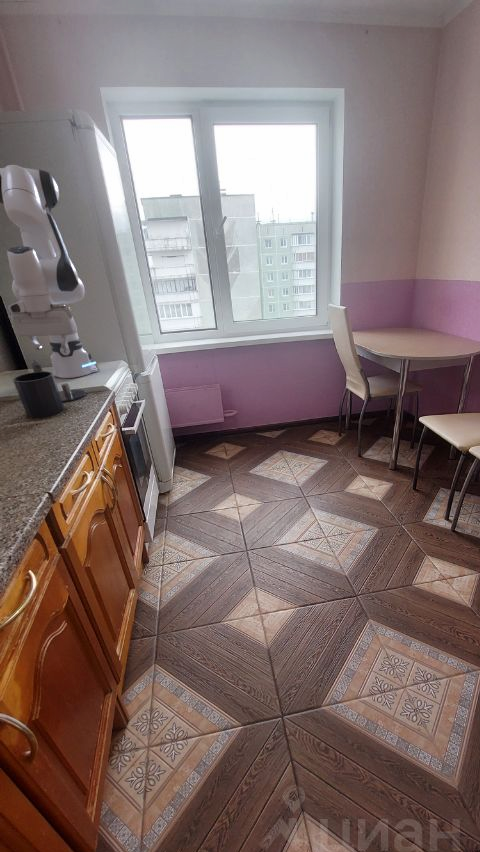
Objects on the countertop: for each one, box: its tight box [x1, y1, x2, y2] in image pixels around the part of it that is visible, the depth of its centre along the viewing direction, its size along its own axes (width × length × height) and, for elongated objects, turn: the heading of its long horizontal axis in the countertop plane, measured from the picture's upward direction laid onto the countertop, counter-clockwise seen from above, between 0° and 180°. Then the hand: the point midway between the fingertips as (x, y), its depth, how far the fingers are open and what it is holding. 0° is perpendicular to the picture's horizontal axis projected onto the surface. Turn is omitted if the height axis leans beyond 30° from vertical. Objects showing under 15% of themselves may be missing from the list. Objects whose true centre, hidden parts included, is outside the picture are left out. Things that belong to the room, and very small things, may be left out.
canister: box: [12, 370, 66, 419], centre depth 124 cm, size 11×11×12 cm
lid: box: [59, 382, 87, 403], centre depth 138 cm, size 12×12×5 cm
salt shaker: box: [31, 359, 43, 372], centre depth 145 cm, size 6×6×12 cm
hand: (52, 349), depth 131 cm, fingers open, 8 cm apart
